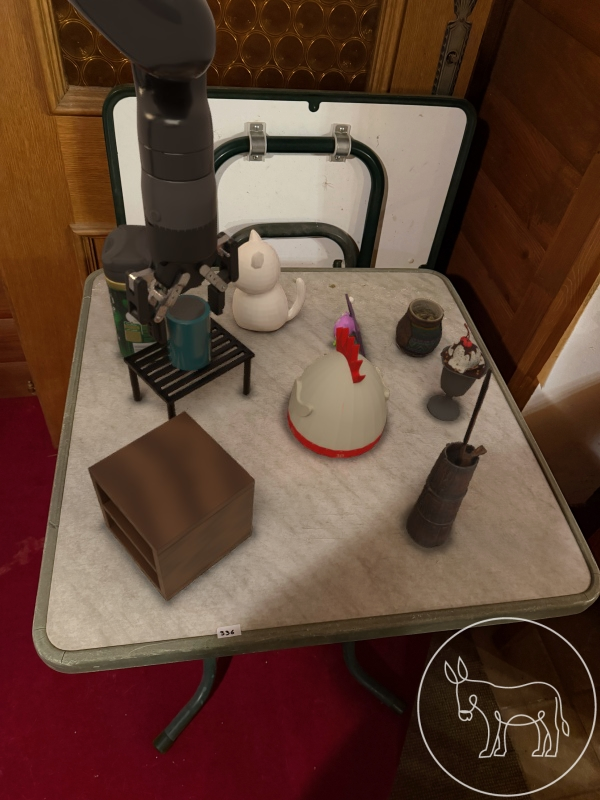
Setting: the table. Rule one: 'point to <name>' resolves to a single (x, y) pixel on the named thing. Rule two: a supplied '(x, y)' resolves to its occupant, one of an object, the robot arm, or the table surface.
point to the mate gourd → (420, 327)
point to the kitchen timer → (339, 402)
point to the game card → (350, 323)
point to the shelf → (175, 502)
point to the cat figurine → (262, 288)
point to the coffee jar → (118, 256)
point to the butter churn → (446, 485)
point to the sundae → (457, 376)
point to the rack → (164, 393)
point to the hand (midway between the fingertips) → (188, 325)
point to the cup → (189, 333)
